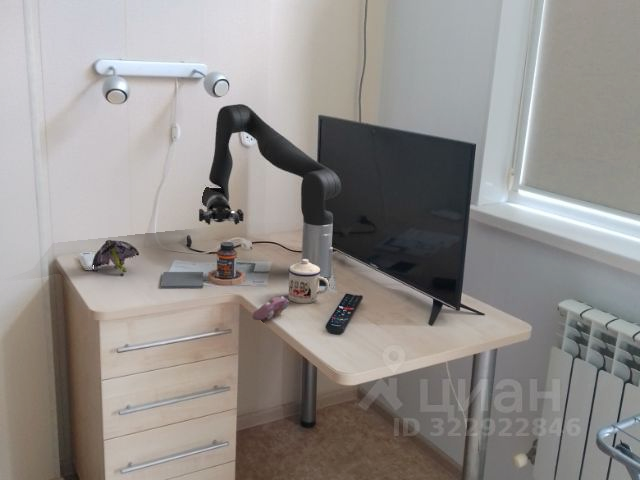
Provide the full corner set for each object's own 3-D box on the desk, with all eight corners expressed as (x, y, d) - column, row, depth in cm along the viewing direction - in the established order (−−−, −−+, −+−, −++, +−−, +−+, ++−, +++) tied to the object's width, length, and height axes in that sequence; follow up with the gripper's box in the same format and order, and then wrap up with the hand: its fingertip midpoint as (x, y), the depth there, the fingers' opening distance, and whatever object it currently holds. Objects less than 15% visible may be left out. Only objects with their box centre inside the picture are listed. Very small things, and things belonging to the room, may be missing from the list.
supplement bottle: (215, 281, 206) (216, 246, 203) (217, 275, 212) (217, 240, 208) (235, 282, 206) (236, 246, 203) (236, 275, 212) (237, 240, 209)
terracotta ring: (243, 272, 215) (243, 268, 215) (245, 285, 205) (245, 280, 204) (208, 272, 213) (208, 268, 213) (207, 285, 203) (207, 280, 202)
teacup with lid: (282, 300, 194) (284, 261, 191) (294, 290, 202) (296, 253, 199) (322, 308, 190) (324, 268, 187) (332, 297, 198) (335, 259, 195)
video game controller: (261, 328, 179) (270, 309, 175) (249, 317, 180) (259, 298, 177) (285, 317, 186) (295, 299, 183) (274, 307, 188) (283, 288, 185)
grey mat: (203, 274, 212) (203, 271, 211) (202, 288, 200) (202, 285, 200) (163, 274, 210) (163, 271, 210) (160, 288, 198) (160, 285, 198)
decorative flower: (129, 232, 217) (132, 232, 203) (142, 267, 218) (146, 268, 204) (83, 248, 212) (83, 248, 198) (96, 283, 214) (97, 286, 199)
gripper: (197, 197, 227) (200, 209, 212) (239, 197, 231) (245, 210, 216) (196, 218, 230) (199, 233, 215) (239, 218, 233) (245, 232, 218)
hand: (222, 221), depth 215 cm, fingers open, 8 cm apart
